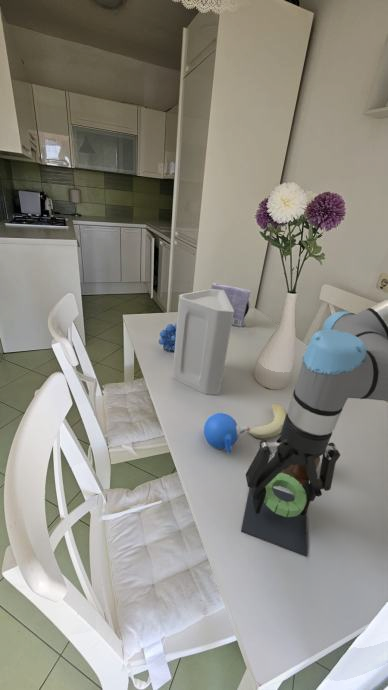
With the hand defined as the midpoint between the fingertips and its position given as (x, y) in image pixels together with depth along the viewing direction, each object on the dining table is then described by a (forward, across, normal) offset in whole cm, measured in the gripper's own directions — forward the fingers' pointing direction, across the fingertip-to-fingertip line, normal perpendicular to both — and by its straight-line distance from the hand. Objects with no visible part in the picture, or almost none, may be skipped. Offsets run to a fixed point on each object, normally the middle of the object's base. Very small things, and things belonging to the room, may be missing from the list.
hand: (278, 507), depth 61 cm
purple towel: (+3, -2, -98) cm, 98 cm away
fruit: (+3, -5, -27) cm, 27 cm away
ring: (-3, 0, 0) cm, 3 cm away
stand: (+2, -9, -10) cm, 14 cm away
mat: (+2, 0, 0) cm, 2 cm away
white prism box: (+2, +15, -48) cm, 50 cm away
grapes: (+2, +23, -66) cm, 70 cm away
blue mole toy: (+2, +8, -19) cm, 21 cm away
